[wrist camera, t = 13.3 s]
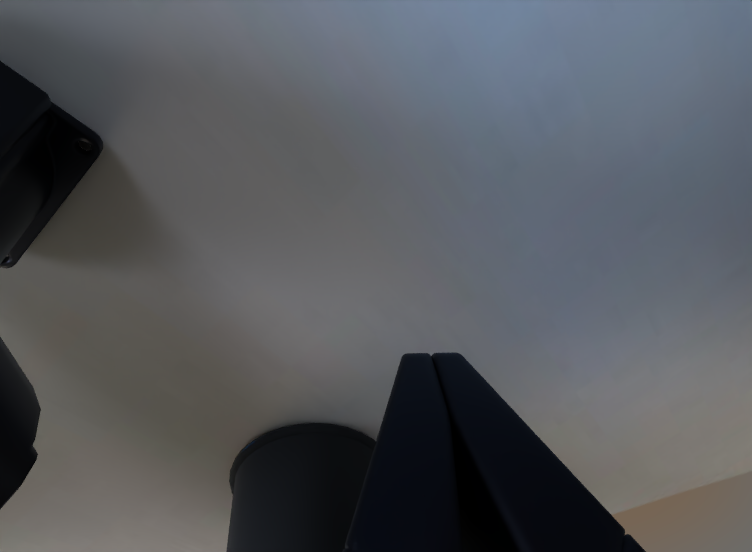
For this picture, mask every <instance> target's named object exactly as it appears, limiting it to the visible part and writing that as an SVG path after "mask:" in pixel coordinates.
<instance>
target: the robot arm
mask: <svg viewBox="0 0 752 552" xmlns="http://www.w3.org/2000/svg"><path fill="white" fill-rule="evenodd" d="M78 141H85V142H87V143H88V144H89V145H90V146H91V149H92V150H85V149H82V148H81V147H80V146H79V143H78ZM102 149H103V142H102V140H101V138H100V137H99V136H98V135H97V134H96V133H95V132H94V131H92V130H91V129H90V128H88V127H87V126H85V125H84V124H82V123H81V122H80V121H78V120H77V119H75V118H74V117H72V116H71V115H69V114H68V113H67V112H65V111H64V110H62V109H61V108H59V107H58V106H57V105H55V104H54V103H52V102H51V101H50V98H49V96H48V94H47V93H45V92H44V91H42V90H41V89H40V88H38V87H37V86H35V85H34V84H33V83H31V82H30V81H28V80H27V79H25V78H24V77H23V76H21V75H20V74H18V73H17V72H15V71H14V70H13V69H11V68H10V67H8V66H7V65H5V64H4V63H3V62H1V61H0V268H10V267H13V266H14V265H15V264H16V263H17V262H18V260H19V259H20V258H21V256H22V255H23V254H24V253H25V251H26V250H27V249H28V247H29V246H30V245H31V243H32V242H33V241H34V240H35V238H36V237H37V236H38V234H39V233H40V232H41V230H42V229H43V228H44V227H45V225H46V224H47V223H48V221H49V220H50V219H51V217H52V216H53V215H54V214H55V212H56V211H57V210H58V208H59V207H60V206H61V204H62V203H63V202H64V201H65V199H66V198H67V197H68V195H69V194H70V193H71V192H72V190H73V189H74V188H75V186H76V185H77V184H78V182H79V181H80V180H81V179H82V177H83V176H84V175H85V173H86V172H87V171H88V169H89V168H90V167H91V166H92V164H93V163H94V162H95V160H96V159H97V158H98V156H99V155H100V153H101V151H102ZM7 254H8V256H7ZM40 411H41V409H40V406H39V403H38V400H37V397H36V394H35V391H34V388H33V386H32V385H31V383H30V382H29V380H28V379H27V377H26V375H25V374H24V372H23V371H22V369H21V368H20V366H19V365H18V363H17V362H16V360H15V358H14V357H13V355H12V354H11V352H10V351H9V349H8V348H7V346H6V345H5V343H4V342H3V340H2V338H1V337H0V509H1V508H2V507H3V506H4V505H5V503H6V502H7V501H8V500H9V499H10V498H11V497H12V496H13V494H14V493H15V492H16V491H17V490H18V489H19V487H20V486H21V485H22V483H23V481H24V480H25V478H26V476H27V475H28V473H29V471H30V470H31V468H32V466H33V465H34V463H35V461H36V459H37V455H38V454H37V452H36V450H35V448H34V447H33V443H34V441H35V437H36V432H37V427H38V421H39V416H40ZM624 535H625V530H624V528H623V527H622V526H621V525H620V524H619V523H618V522H617V521H616V520H615V519H614V518H613V517H612V515H611V514H610V513H609V512H608V511H607V510H606V509H605V508H604V507H603V506H602V505H601V504H600V502H599V501H598V500H597V499H596V498H595V497H594V496H593V495H592V494H591V493H590V492H589V491H588V490H587V489H586V487H585V486H584V485H583V484H582V483H581V482H580V481H579V480H578V479H577V478H576V477H575V476H574V475H573V474H572V472H571V471H570V470H569V469H568V468H567V467H566V466H565V465H564V464H563V463H562V462H561V461H560V460H559V459H558V458H557V456H556V455H555V454H554V453H553V452H552V451H551V450H550V449H549V448H548V447H547V446H546V445H545V444H544V443H543V441H542V440H541V439H540V438H539V437H538V436H537V435H536V434H535V433H534V432H533V431H532V430H531V429H530V428H529V426H528V425H527V424H526V423H525V422H524V421H523V420H522V419H521V418H520V417H519V416H518V415H517V414H516V413H515V411H514V410H513V409H512V408H511V407H510V406H509V405H508V404H507V403H506V402H505V401H504V400H503V399H502V398H501V397H500V395H499V394H498V393H497V392H496V391H495V390H494V389H493V388H492V387H491V386H490V385H489V384H488V383H487V382H486V380H485V379H484V378H483V377H482V376H481V375H480V374H479V373H478V372H477V371H476V370H475V369H474V368H473V367H472V365H471V364H470V363H469V362H468V361H467V360H466V359H465V358H464V357H463V356H462V355H461V354H459V353H434V354H433V355H432V356H430V355H429V354H428V353H408V354H404V355H403V356H402V358H401V361H400V365H399V368H398V371H397V375H396V378H395V381H394V384H393V388H392V391H391V394H390V398H389V401H388V404H387V408H386V411H385V414H384V418H383V421H382V424H381V427H380V431H379V434H378V437H377V441H376V444H375V447H374V451H373V454H372V457H371V460H370V464H369V467H368V470H367V474H366V477H365V480H364V484H363V487H362V490H361V493H360V497H359V500H358V503H357V507H356V510H355V513H354V517H353V520H352V523H351V527H350V530H349V533H348V536H347V540H346V543H345V549H344V550H343V552H646V551H645V550H644V549H643V548H642V547H641V546H640V545H639V544H638V543H637V542H636V541H635V540H634V539H633V538H632V536H631V535H629V534H627V535H625V536H624Z"/></svg>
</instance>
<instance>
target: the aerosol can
mask: <svg viewBox="0 0 752 552" xmlns="http://www.w3.org/2000/svg"><path fill="white" fill-rule="evenodd" d="M375 444H376V441H375V440H374V439H372V438H370V437H369V436H367V435H365V434H363V433H362V432H359V431H356V430H353V429H351V428H348V427H344V426H339V425H334V424H323V423H309V424H297V425H293V426H288V427H283V428H280V429H277V430H274V431H272V432H269V433H266V434H265V435H263V436H261V437H259V438H257V439H255V440H254V441H252V442H251V443H250V444H249V445H247V446H246V447H245V448H244V449H243V450H242V451H241V452H240V454H239V455H238V456H237V457H236V459H235V461H234V463H233V466H232V468H231V470H230V480H229V482H230V486H231V490H232V494H233V500H232V509H231V518H230V526H229V535H228V544H227V552H343V550H344V549H345V543H346V540H347V536H348V533H349V530H350V527H351V523H352V520H353V517H354V513H355V510H356V507H357V503H358V500H359V497H360V493H361V490H362V487H363V484H364V480H365V477H366V474H367V470H368V467H369V464H370V460H371V457H372V454H373V451H374V447H375Z"/></svg>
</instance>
